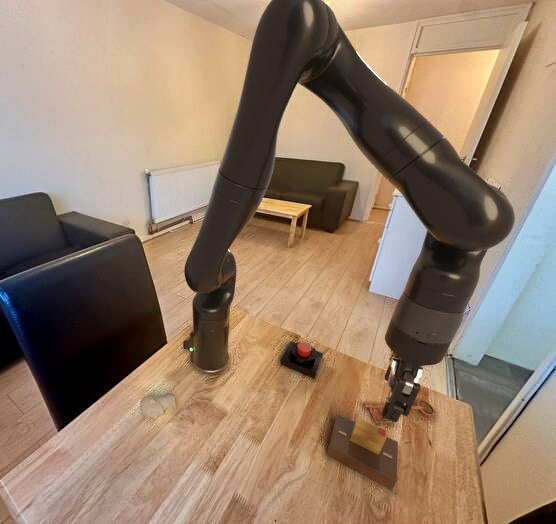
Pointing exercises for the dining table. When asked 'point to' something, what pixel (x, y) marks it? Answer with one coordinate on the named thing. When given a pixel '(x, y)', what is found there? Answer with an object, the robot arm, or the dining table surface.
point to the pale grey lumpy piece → (156, 405)
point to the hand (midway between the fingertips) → (389, 398)
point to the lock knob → (368, 436)
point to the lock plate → (363, 454)
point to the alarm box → (301, 360)
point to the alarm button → (303, 349)
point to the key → (376, 415)
